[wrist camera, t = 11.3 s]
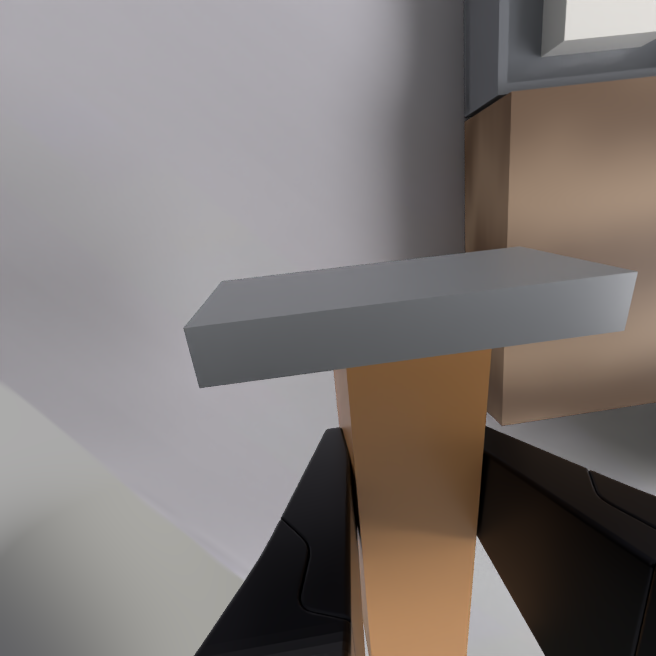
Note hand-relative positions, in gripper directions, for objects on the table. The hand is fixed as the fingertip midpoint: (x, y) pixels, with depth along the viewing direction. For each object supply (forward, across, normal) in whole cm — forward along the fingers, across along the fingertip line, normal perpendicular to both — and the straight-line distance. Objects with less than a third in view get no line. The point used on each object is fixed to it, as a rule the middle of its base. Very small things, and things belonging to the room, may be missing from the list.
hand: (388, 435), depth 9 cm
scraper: (+1, 0, +1) cm, 1 cm away
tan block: (+11, -14, -2) cm, 18 cm away
